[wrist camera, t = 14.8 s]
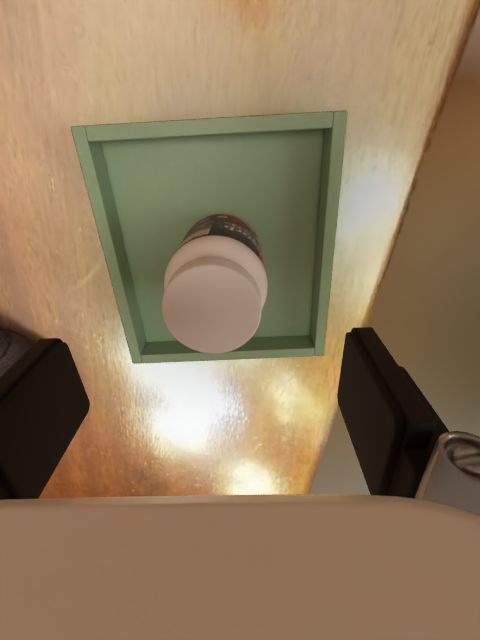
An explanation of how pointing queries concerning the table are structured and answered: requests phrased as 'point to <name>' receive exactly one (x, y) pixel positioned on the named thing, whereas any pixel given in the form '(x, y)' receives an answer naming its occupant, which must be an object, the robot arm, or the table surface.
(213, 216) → the pill bottle
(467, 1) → the table surface
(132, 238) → the tray
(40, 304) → the table surface
